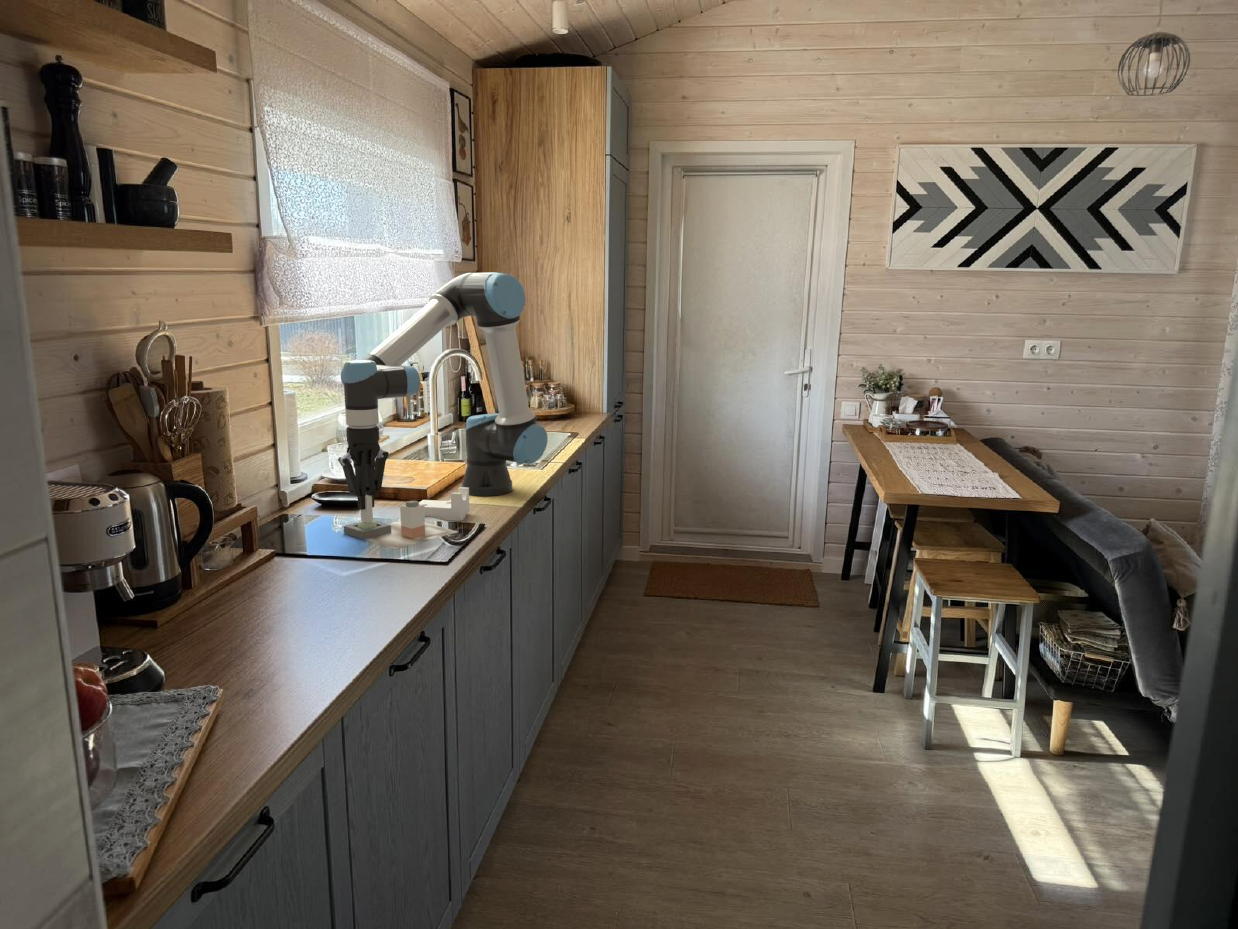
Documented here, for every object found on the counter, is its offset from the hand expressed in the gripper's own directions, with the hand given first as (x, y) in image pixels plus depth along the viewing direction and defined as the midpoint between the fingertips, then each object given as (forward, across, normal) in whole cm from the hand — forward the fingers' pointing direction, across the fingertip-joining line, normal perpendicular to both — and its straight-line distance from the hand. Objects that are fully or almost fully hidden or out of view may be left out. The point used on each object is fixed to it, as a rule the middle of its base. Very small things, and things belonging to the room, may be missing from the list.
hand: (367, 521), depth 210 cm
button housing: (+3, 0, 0) cm, 3 cm away
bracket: (+4, -24, -2) cm, 25 cm away
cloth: (+4, -6, +6) cm, 9 cm away
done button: (+3, 0, 0) cm, 3 cm away
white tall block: (+3, -6, +10) cm, 12 cm away
